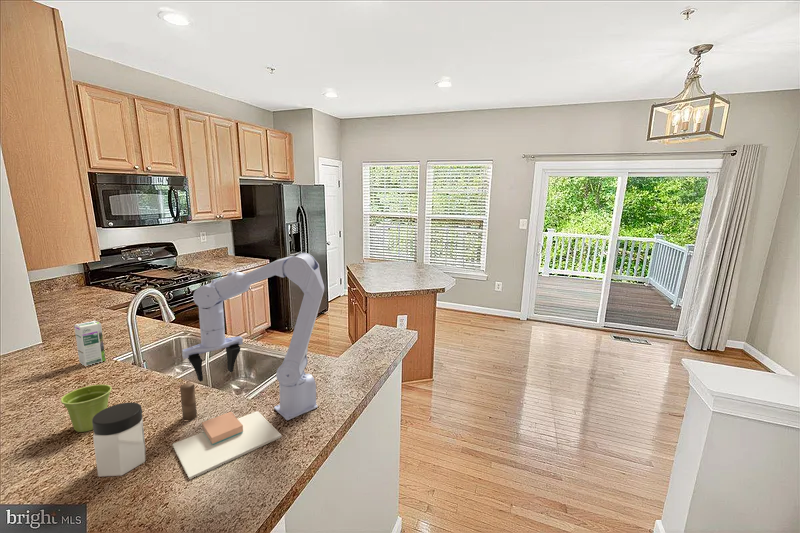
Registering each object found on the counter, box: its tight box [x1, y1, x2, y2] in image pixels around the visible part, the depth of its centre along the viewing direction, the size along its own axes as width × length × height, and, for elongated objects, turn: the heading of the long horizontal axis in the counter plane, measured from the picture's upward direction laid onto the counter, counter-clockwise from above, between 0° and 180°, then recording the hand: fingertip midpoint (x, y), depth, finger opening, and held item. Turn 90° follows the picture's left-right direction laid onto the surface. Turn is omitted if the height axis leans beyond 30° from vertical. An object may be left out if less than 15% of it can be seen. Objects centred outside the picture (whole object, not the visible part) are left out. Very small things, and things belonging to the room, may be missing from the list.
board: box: [172, 410, 282, 480], centre depth 82 cm, size 20×14×1 cm
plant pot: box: [60, 384, 113, 433], centre depth 86 cm, size 9×9×9 cm
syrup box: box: [74, 320, 107, 367], centre depth 120 cm, size 6×6×14 cm
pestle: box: [179, 382, 198, 421], centre depth 90 cm, size 3×3×9 cm
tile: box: [201, 411, 243, 445], centre depth 85 cm, size 7×2×8 cm
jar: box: [92, 402, 147, 478], centre depth 73 cm, size 9×8×12 cm
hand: (215, 375), depth 94 cm, fingers open, 7 cm apart
